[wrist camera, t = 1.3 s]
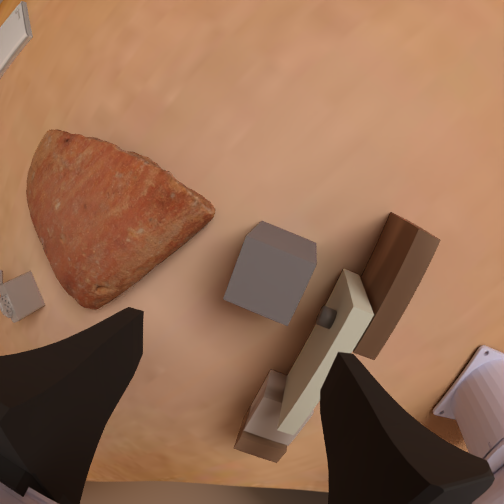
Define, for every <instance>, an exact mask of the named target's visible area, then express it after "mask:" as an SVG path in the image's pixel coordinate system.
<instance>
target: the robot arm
mask: <svg viewBox="0 0 504 504" xmlns="http://www.w3.org/2000/svg"><path fill="white" fill-rule="evenodd" d="M143 313H144V311H141V310H137V309H134V308H130V307H128V308H126V309H123V310H122V311H120V312H118V313H116V314H114V315H112V316H111V317H109V318H107V319H105V320H103V321H101V322H99V323H97V324H96V325H94V326H92V327H90V328H88V329H86V330H84V331H81V332H79V333H77V334H75V335H73V336H71V337H68V338H66V339H64V340H61V341H59V342H56V343H53V344H50V345H47V346H44V347H41V348H38V349H34V350H30V351H25V352H21V353H17V354H11V355H5V356H0V504H80V500H81V496H82V492H83V488H84V484H85V481H86V478H87V474H88V471H89V468H90V465H91V462H92V459H93V456H94V453H95V451H96V448H97V445H98V443H99V440H100V438H101V435H102V433H103V430H104V428H105V425H106V423H107V421H108V419H109V417H110V416H111V414H112V412H113V410H114V409H115V407H116V405H117V403H118V402H119V400H120V398H121V397H122V395H123V393H124V391H125V390H126V388H127V386H128V385H129V383H130V381H131V379H132V378H133V376H134V374H135V371H136V369H137V367H138V364H139V362H140V359H141V357H142V354H143ZM486 351H487V352H486ZM485 352H486V353H485ZM484 353H485V354H484ZM320 414H321V421H322V427H323V434H324V440H325V446H326V453H327V459H328V470H329V497H328V504H504V353H502V352H499V351H497V350H495V349H492V348H490V347H487V346H485V345H482V346H480V347H479V348H478V350H477V351H476V353H475V354H474V356H473V357H472V359H471V360H470V362H469V363H468V365H467V366H466V367H465V369H464V370H463V372H462V373H461V374H460V376H459V377H458V378H457V380H456V381H455V382H454V384H453V385H452V386H451V388H450V389H449V390H448V392H447V393H446V394H445V395H444V397H443V398H442V399H441V400H440V402H439V403H438V404H437V405H436V406H435V408H434V409H433V414H434V415H437V416H441V417H446V418H450V419H455V420H456V421H457V424H458V426H459V428H460V431H461V433H462V436H463V439H464V441H465V444H466V446H467V449H468V452H469V453H468V452H465V451H463V450H461V449H459V448H457V447H456V446H454V445H452V444H450V443H448V442H447V441H445V440H443V439H442V438H440V437H439V436H437V435H436V434H434V433H433V432H431V431H430V430H428V429H427V428H426V427H424V426H423V425H422V424H420V423H419V422H418V421H417V420H416V419H414V418H413V417H412V416H411V415H410V414H408V413H407V412H406V411H405V410H404V409H403V408H402V407H401V406H400V405H399V404H398V403H397V402H396V401H395V400H394V399H393V398H392V397H391V396H390V395H389V394H388V393H387V392H386V391H385V390H384V388H383V387H382V386H381V385H380V384H379V383H378V382H377V380H376V379H375V378H374V377H373V376H372V375H371V374H370V372H369V371H368V370H367V369H366V368H365V367H364V365H363V364H362V363H361V362H360V361H359V360H358V359H357V358H356V356H355V355H354V354H351V353H344V352H338V353H337V355H336V357H335V359H334V362H333V364H332V366H331V368H330V370H329V373H328V375H327V377H326V379H325V381H324V383H323V385H322V387H321V389H320Z"/></svg>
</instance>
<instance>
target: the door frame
mask: <svg viewBox="0 0 504 504" xmlns="http://www.w3.org/2000/svg"><path fill="white" fill-rule="evenodd" d="M439 242H440V239H438V238H437V237H435V236H433V235H432V234H430V233H428V232H427V231H425V230H423V229H422V228H420V227H418V226H417V225H415V224H413V223H412V222H410V221H408V220H406V219H404V218H402V217H400V216H398V215H396V214H394V213H392V212H391V213H390V215H389V218H388V220H387V222H386V225H385V227H384V229H383V232H382V234H381V236H380V238H379V240H378V243H377V245H376V247H375V249H374V251H373V253H372V256H371V258H370V260H369V262H368V264H367V266H366V268H365V270H364V272H363V274H362V276H361V278H360V279H361V281H362V284H363V287H364V289H365V292H366V294H367V297H368V300H369V302H370V305H371V308H372V311H373V313H374V316H373V317H372V319H371V321H370V323H369V324H368V326H367V328H366V330H365V331H364V333H363V335H362V336H361V338H360V340H359V341H358V343H357V345H356V346H355V348H354V349H353V353H356V354H359V355H361V356H364V357H367V358H370V359H373V360H375V359H376V357H377V355H378V354H379V352H380V351H381V349H382V348H383V346H384V345H385V343H386V341H387V340H388V338H389V337H390V335H391V333H392V332H393V330H394V328H395V327H396V325H397V323H398V322H399V320H400V318H401V316H402V315H403V313H404V311H405V309H406V308H407V306H408V304H409V302H410V300H411V299H412V297H413V295H414V293H415V291H416V289H417V287H418V286H419V284H420V282H421V280H422V278H423V276H424V274H425V272H426V270H427V268H428V266H429V264H430V262H431V260H432V258H433V255H434V253H435V251H436V249H437V247H438V245H439ZM286 379H287V375H284V374H281V373H279V372H276V371H273V370H270V372H269V374H268V375H267V377H266V379H265V381H264V383H263V385H262V387H261V388H260V390H259V392H258V394H257V396H256V397H255V399H254V401H253V403H252V405H251V406H250V408H249V410H248V412H247V413H246V415H245V417H244V419H243V422H242V425H241V428H240V431H239V434H238V437H237V440H236V443H235V446H234V449H237V450H240V451H242V452H245V453H248V454H251V455H254V456H257V457H260V458H263V459H266V460H269V461H272V462H275V463H277V462H278V461H279V460H280V459H281V457H282V456H283V455H284V454H285V453H286V450H287V445H288V446H289V444H290V443H291V442H292V441H293V439H294V438H295V437H296V436H297V434H298V433H299V432H300V431H301V429H302V428H303V427H304V425H305V424H306V423H307V421H308V420H309V419H310V418H311V416H312V415H313V411H312V412H311V413H310V415H309V416H308V417H307V419H306V420H305V421H304V423H303V424H302V425H301V427H300V428H299V429H298V430H297V432H296V433H295V434H294V435H290V434H287V433H284V432H281V431H278V430H277V427H278V422H279V417H280V412H281V407H282V401H283V396H284V390H285V385H286Z"/></svg>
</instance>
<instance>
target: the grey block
mask: <svg viewBox="0 0 504 504" xmlns="http://www.w3.org/2000/svg"><path fill="white" fill-rule="evenodd" d="M316 265H317V259H316V243H315V242H313V241H310V240H308V239H306V238H303V237H301V236H298V235H296V234H293V233H291V232H289V231H286V230H284V229H281V228H279V227H276V226H274V225H271V224H269V223H266V222H264V221H261V222H260V223H259V224H258V225H257V226H256V227H255V228H254V229H253V230H252V231H251V232H250V233H248V234H247V235H246V238H245V240H244V243H243V246H242V249H241V251H240V254H239V257H238V259H237V262H236V265H235V268H234V270H233V273H232V276H231V279H230V281H229V284H228V287H227V290H226V292H225V295H224V298H223V299H224V300H226V301H228V302H231V303H233V304H235V305H238V306H240V307H242V308H245V309H247V310H249V311H252V312H254V313H257V314H259V315H261V316H264V317H266V318H269V319H271V320H274V321H276V322H279V323H281V324H284V325H286V326H288V324H289V322H290V320H291V318H292V316H293V314H294V312H295V310H296V308H297V306H298V304H299V302H300V299H301V297H302V295H303V293H304V291H305V289H306V287H307V285H308V282H309V280H310V278H311V276H312V274H313V271H314V269H315V267H316Z"/></svg>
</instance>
